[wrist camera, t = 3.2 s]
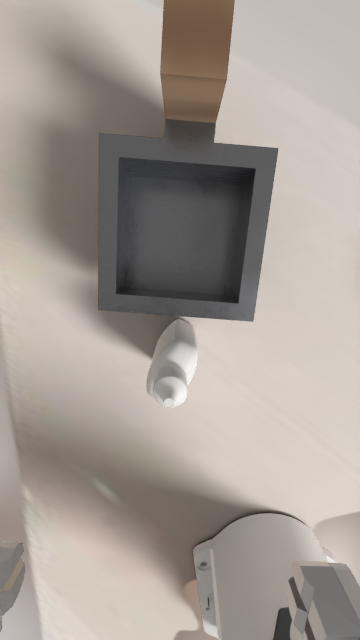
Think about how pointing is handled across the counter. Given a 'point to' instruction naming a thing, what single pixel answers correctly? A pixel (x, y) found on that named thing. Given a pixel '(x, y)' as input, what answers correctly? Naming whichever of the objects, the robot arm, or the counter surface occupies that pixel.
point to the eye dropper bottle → (173, 364)
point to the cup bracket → (185, 189)
